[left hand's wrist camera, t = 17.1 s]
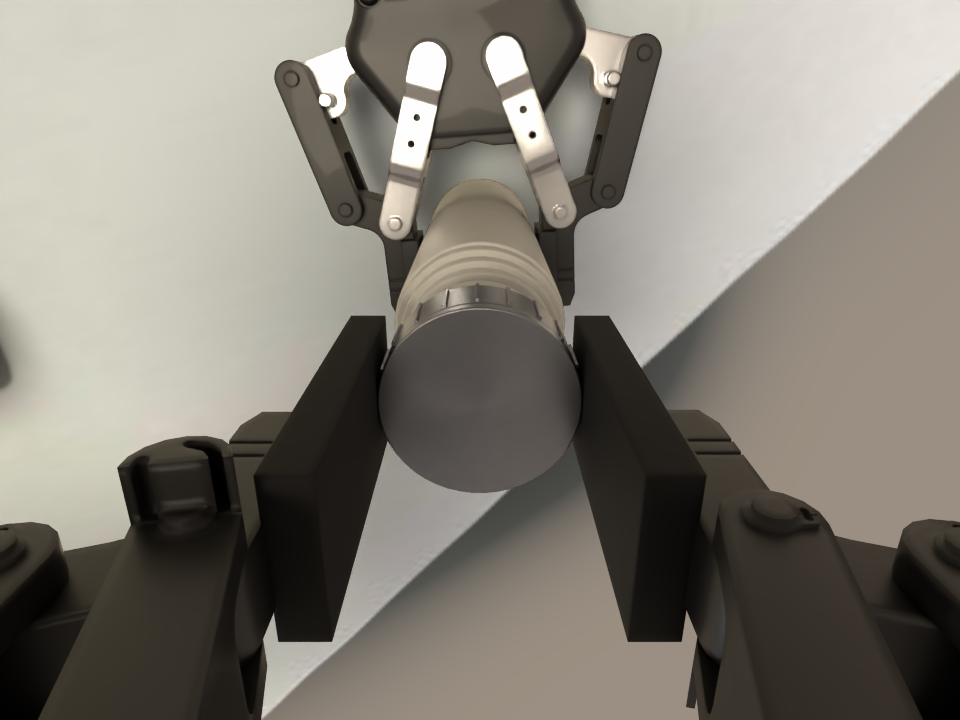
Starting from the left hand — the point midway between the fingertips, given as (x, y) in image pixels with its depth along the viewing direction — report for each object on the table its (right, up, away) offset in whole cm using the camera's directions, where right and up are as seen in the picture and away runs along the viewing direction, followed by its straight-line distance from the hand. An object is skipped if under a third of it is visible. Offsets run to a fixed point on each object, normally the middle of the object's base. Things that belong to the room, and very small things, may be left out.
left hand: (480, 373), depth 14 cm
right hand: (0, +2, +12) cm, 13 cm away
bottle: (0, +7, +17) cm, 18 cm away
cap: (0, 0, -1) cm, 1 cm away
